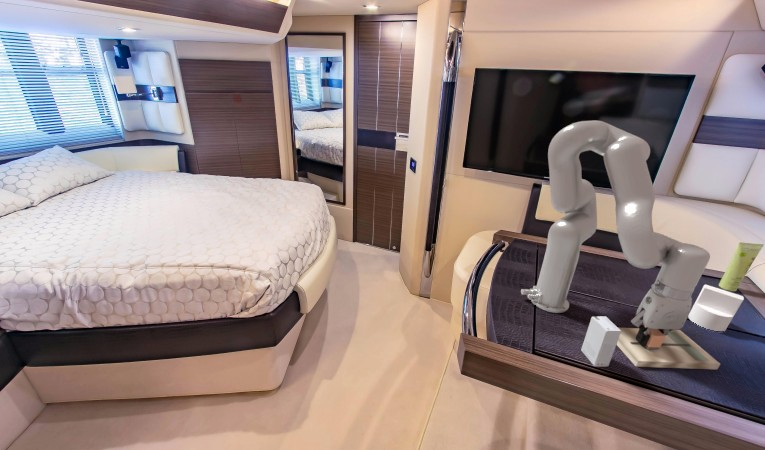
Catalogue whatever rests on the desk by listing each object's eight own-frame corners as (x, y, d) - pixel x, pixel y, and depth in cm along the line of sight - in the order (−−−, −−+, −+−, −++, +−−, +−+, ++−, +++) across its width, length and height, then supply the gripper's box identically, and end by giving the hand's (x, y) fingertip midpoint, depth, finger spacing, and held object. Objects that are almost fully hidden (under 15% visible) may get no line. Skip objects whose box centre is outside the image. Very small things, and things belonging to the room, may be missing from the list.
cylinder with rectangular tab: (686, 321, 104) (702, 291, 99) (689, 309, 110) (704, 280, 105) (725, 336, 98) (744, 304, 93) (725, 323, 104) (743, 292, 99)
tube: (733, 293, 120) (759, 247, 112) (715, 286, 124) (739, 241, 116) (738, 289, 123) (764, 244, 115) (720, 283, 127) (744, 238, 119)
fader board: (635, 366, 86) (638, 360, 85) (605, 332, 98) (607, 327, 97) (717, 369, 86) (720, 363, 85) (677, 335, 98) (679, 329, 97)
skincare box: (609, 366, 86) (624, 331, 81) (593, 367, 85) (607, 331, 81) (593, 349, 91) (607, 315, 87) (578, 349, 91) (591, 315, 86)
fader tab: (648, 349, 89) (654, 335, 87) (635, 336, 93) (641, 323, 92) (658, 349, 89) (665, 336, 87) (645, 336, 93) (651, 323, 92)
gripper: (651, 296, 80) (627, 351, 88) (717, 298, 80) (686, 354, 88) (631, 279, 87) (609, 332, 95) (691, 282, 87) (665, 334, 95)
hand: (647, 342), depth 91 cm, fingers closed on fader tab, 3 cm apart
